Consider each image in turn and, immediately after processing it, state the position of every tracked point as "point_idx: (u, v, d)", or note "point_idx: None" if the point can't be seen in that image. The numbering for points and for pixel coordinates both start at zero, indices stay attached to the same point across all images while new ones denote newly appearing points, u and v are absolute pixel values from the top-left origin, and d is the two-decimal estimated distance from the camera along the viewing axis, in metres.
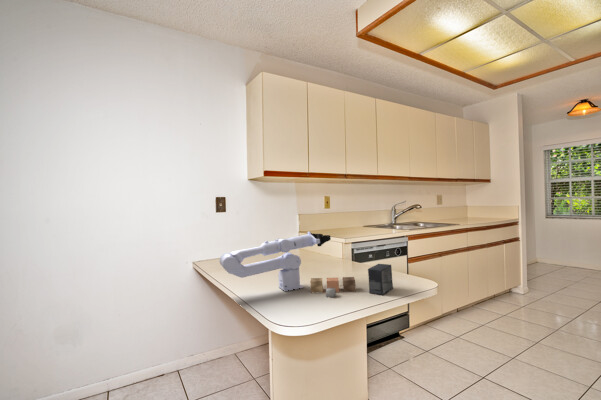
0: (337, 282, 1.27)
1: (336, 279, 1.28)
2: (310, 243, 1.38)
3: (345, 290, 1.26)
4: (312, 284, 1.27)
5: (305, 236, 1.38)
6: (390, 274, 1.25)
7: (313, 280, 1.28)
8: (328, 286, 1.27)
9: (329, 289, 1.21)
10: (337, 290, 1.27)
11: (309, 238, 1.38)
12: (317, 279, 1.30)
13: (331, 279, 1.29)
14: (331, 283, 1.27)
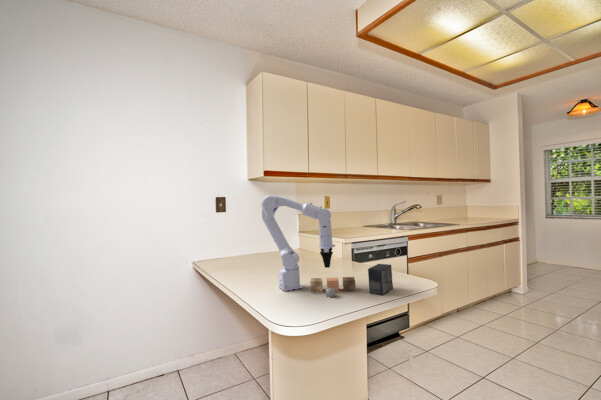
0: (337, 282, 1.27)
1: (336, 279, 1.28)
2: (323, 244, 1.31)
3: (345, 290, 1.26)
4: (312, 284, 1.27)
5: (331, 240, 1.32)
6: (390, 274, 1.25)
7: (313, 280, 1.28)
8: (328, 286, 1.27)
9: (329, 289, 1.21)
10: (337, 290, 1.27)
11: (328, 243, 1.31)
12: (317, 279, 1.30)
13: (331, 279, 1.29)
14: (331, 283, 1.27)
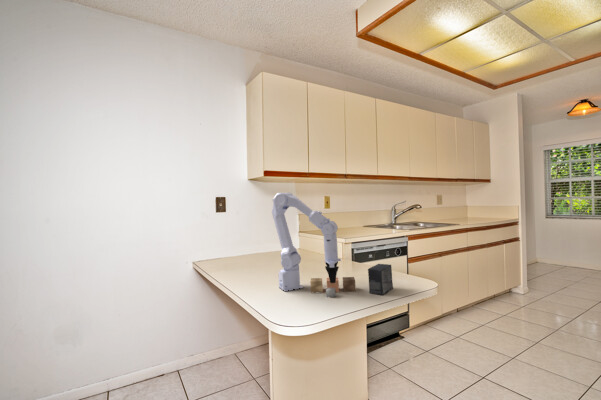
0: (337, 282, 1.27)
1: (336, 279, 1.28)
2: (328, 258, 1.27)
3: (345, 290, 1.26)
4: (312, 284, 1.27)
5: (336, 254, 1.27)
6: (390, 274, 1.25)
7: (313, 280, 1.28)
8: (328, 286, 1.27)
9: (329, 289, 1.21)
10: (337, 290, 1.27)
11: (334, 258, 1.27)
12: (317, 279, 1.30)
13: None
14: (331, 283, 1.27)
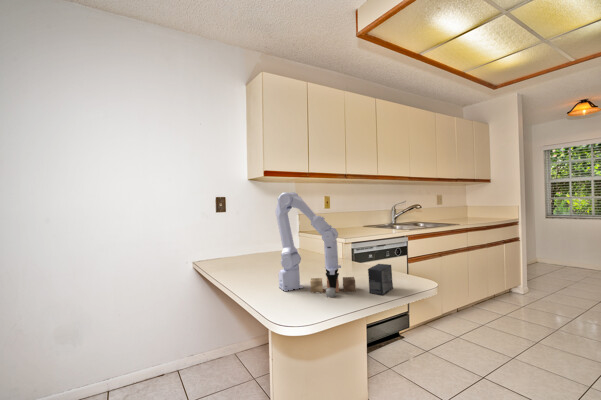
0: (337, 282, 1.27)
1: None
2: (329, 265, 1.27)
3: (345, 290, 1.26)
4: (312, 284, 1.27)
5: (336, 261, 1.27)
6: (390, 274, 1.25)
7: (313, 280, 1.28)
8: (328, 286, 1.27)
9: (329, 289, 1.21)
10: (337, 290, 1.27)
11: (334, 265, 1.27)
12: (317, 279, 1.30)
13: None
14: None
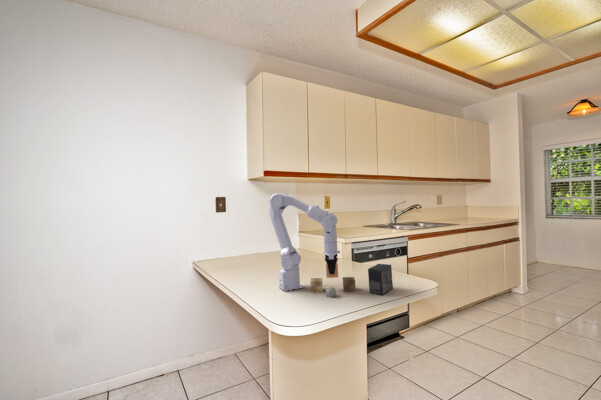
0: (336, 267, 1.27)
1: None
2: (328, 250, 1.27)
3: (345, 290, 1.26)
4: (312, 284, 1.27)
5: (336, 246, 1.27)
6: (390, 274, 1.25)
7: (313, 280, 1.28)
8: (327, 271, 1.27)
9: (329, 289, 1.21)
10: (336, 275, 1.27)
11: (333, 250, 1.27)
12: (317, 279, 1.30)
13: None
14: None
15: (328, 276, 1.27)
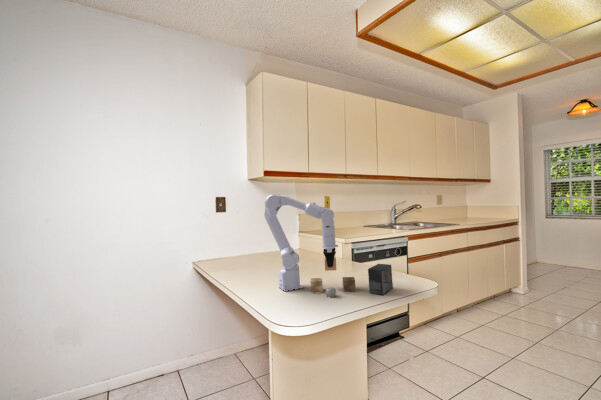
0: (334, 260, 1.31)
1: (334, 258, 1.33)
2: (326, 244, 1.31)
3: (345, 290, 1.26)
4: (312, 284, 1.27)
5: (334, 240, 1.32)
6: (390, 274, 1.25)
7: (313, 280, 1.28)
8: (326, 264, 1.31)
9: (329, 289, 1.21)
10: (334, 268, 1.31)
11: (331, 243, 1.31)
12: (317, 279, 1.30)
13: None
14: None
15: (326, 269, 1.31)
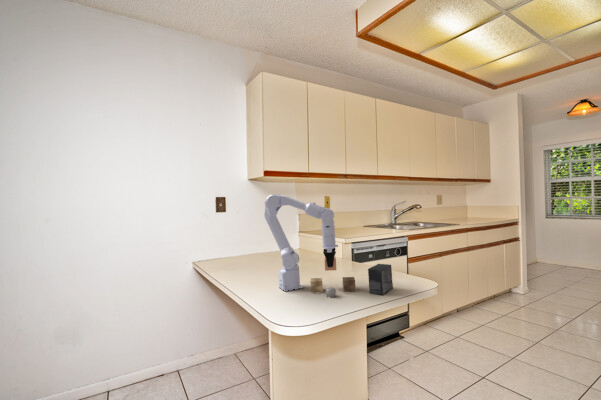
0: (334, 260, 1.31)
1: (334, 258, 1.33)
2: (326, 244, 1.31)
3: (345, 290, 1.26)
4: (312, 284, 1.27)
5: (334, 240, 1.32)
6: (390, 274, 1.25)
7: (313, 280, 1.28)
8: (326, 264, 1.31)
9: (329, 289, 1.21)
10: (334, 268, 1.31)
11: (331, 243, 1.31)
12: (317, 279, 1.30)
13: None
14: None
15: (326, 269, 1.31)
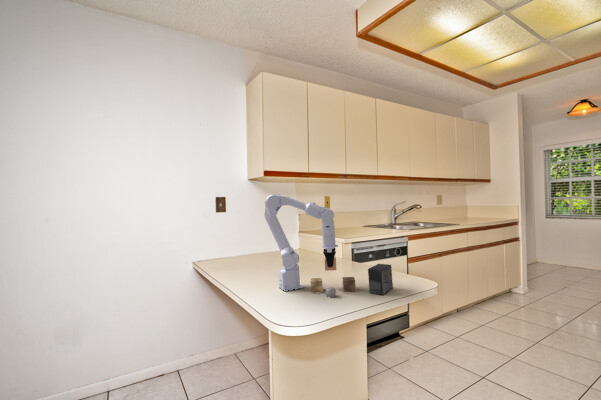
0: (334, 260, 1.31)
1: (334, 258, 1.33)
2: (326, 244, 1.31)
3: (345, 290, 1.26)
4: (312, 284, 1.27)
5: (334, 240, 1.32)
6: (390, 274, 1.25)
7: (313, 280, 1.28)
8: (326, 264, 1.31)
9: (329, 289, 1.21)
10: (334, 268, 1.31)
11: (331, 243, 1.31)
12: (317, 279, 1.30)
13: None
14: None
15: (326, 269, 1.31)
